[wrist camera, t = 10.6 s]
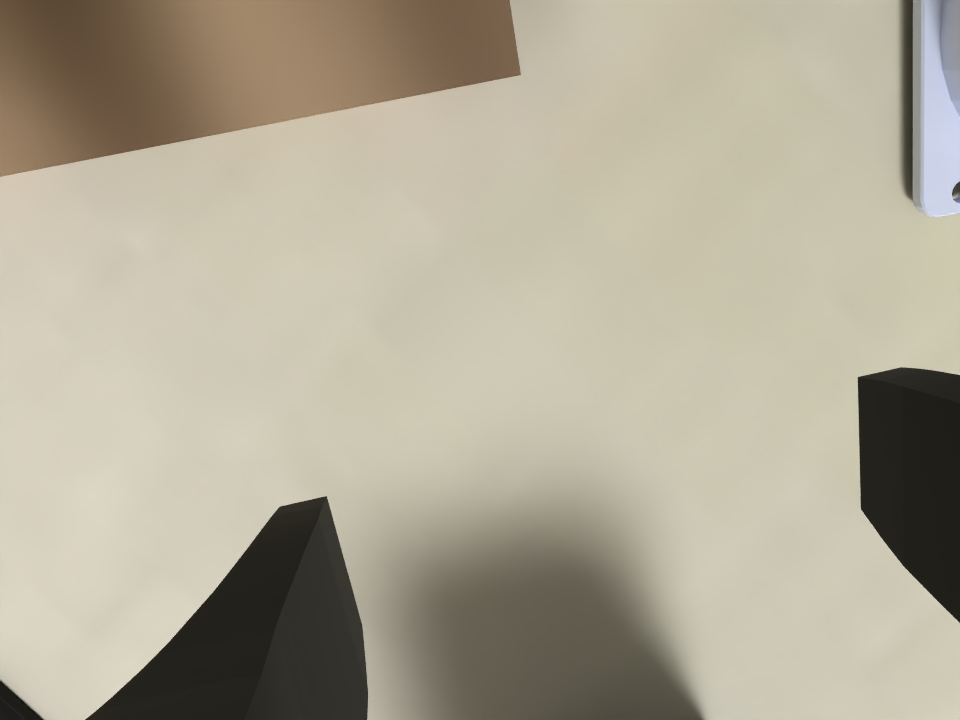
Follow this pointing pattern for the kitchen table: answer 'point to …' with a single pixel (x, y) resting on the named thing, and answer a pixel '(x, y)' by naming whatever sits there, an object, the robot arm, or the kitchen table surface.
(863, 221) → the kitchen table surface
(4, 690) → the pen
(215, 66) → the walnut base
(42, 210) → the kitchen table surface
